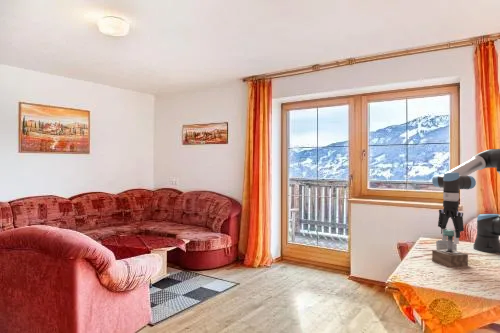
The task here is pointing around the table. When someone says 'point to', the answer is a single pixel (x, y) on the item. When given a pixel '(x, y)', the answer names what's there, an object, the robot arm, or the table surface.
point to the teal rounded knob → (449, 239)
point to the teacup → (444, 245)
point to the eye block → (450, 258)
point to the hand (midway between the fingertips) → (450, 241)
